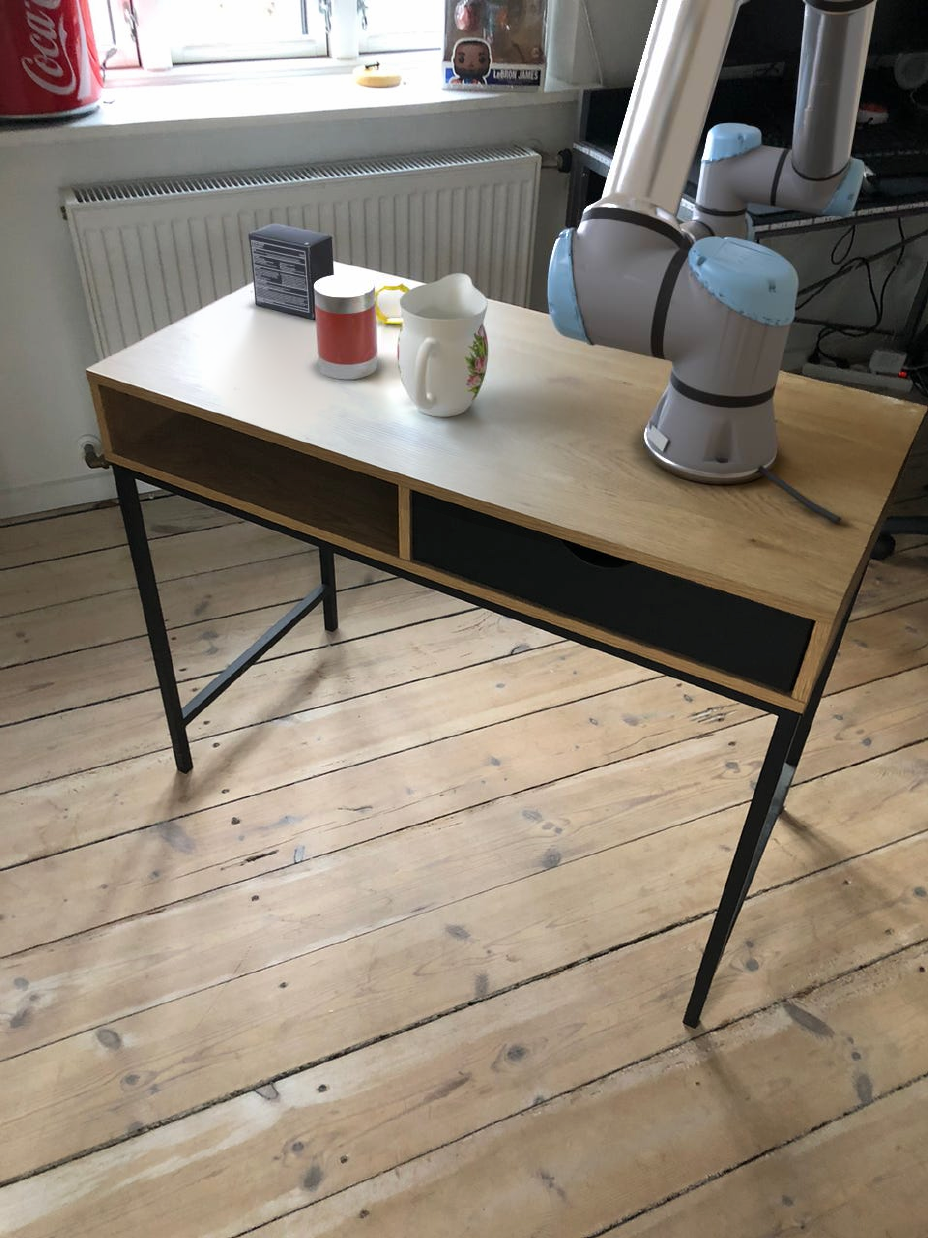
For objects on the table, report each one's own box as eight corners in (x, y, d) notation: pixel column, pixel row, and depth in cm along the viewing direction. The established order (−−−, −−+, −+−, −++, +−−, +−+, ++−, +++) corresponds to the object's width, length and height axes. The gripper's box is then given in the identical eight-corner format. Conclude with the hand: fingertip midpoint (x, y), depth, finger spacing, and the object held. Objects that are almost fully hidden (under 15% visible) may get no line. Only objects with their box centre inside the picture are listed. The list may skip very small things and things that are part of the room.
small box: (338, 305, 151) (335, 233, 145) (313, 320, 147) (308, 247, 140) (279, 291, 155) (273, 220, 148) (253, 305, 150) (246, 233, 144)
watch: (416, 320, 148) (416, 280, 144) (413, 328, 146) (412, 287, 142) (376, 317, 148) (375, 276, 145) (371, 324, 146) (370, 283, 142)
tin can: (389, 368, 135) (387, 286, 128) (343, 385, 131) (339, 302, 124) (352, 349, 140) (349, 269, 133) (307, 365, 135) (301, 283, 129)
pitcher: (374, 435, 121) (370, 324, 113) (418, 370, 135) (418, 267, 126) (463, 449, 119) (467, 337, 111) (499, 382, 133) (505, 278, 124)
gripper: (707, 293, 146) (600, 337, 133) (635, 267, 153) (527, 307, 140) (717, 240, 141) (606, 280, 128) (642, 216, 148) (531, 251, 135)
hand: (565, 294), depth 134 cm, fingers closed
